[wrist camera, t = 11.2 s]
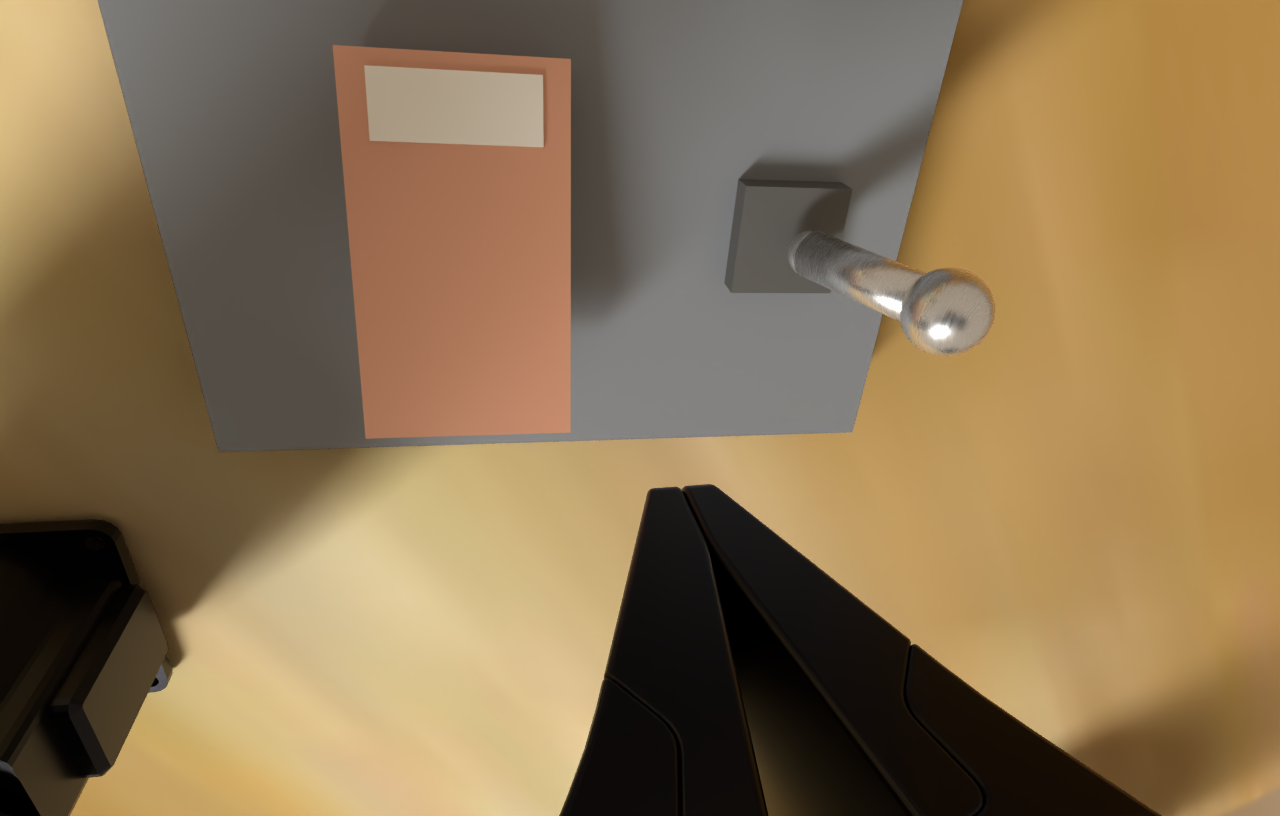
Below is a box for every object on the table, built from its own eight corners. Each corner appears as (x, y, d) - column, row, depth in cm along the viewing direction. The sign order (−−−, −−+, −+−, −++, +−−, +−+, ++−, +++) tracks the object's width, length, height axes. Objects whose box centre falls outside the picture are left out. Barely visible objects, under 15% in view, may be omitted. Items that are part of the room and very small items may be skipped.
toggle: (762, 287, 16) (944, 379, 13) (774, 214, 15) (971, 293, 12) (813, 276, 17) (997, 360, 14) (827, 206, 16) (1026, 278, 13)
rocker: (374, 422, 15) (364, 440, 14) (345, 55, 13) (331, 43, 12) (566, 418, 16) (571, 434, 15) (566, 67, 14) (571, 58, 13)
